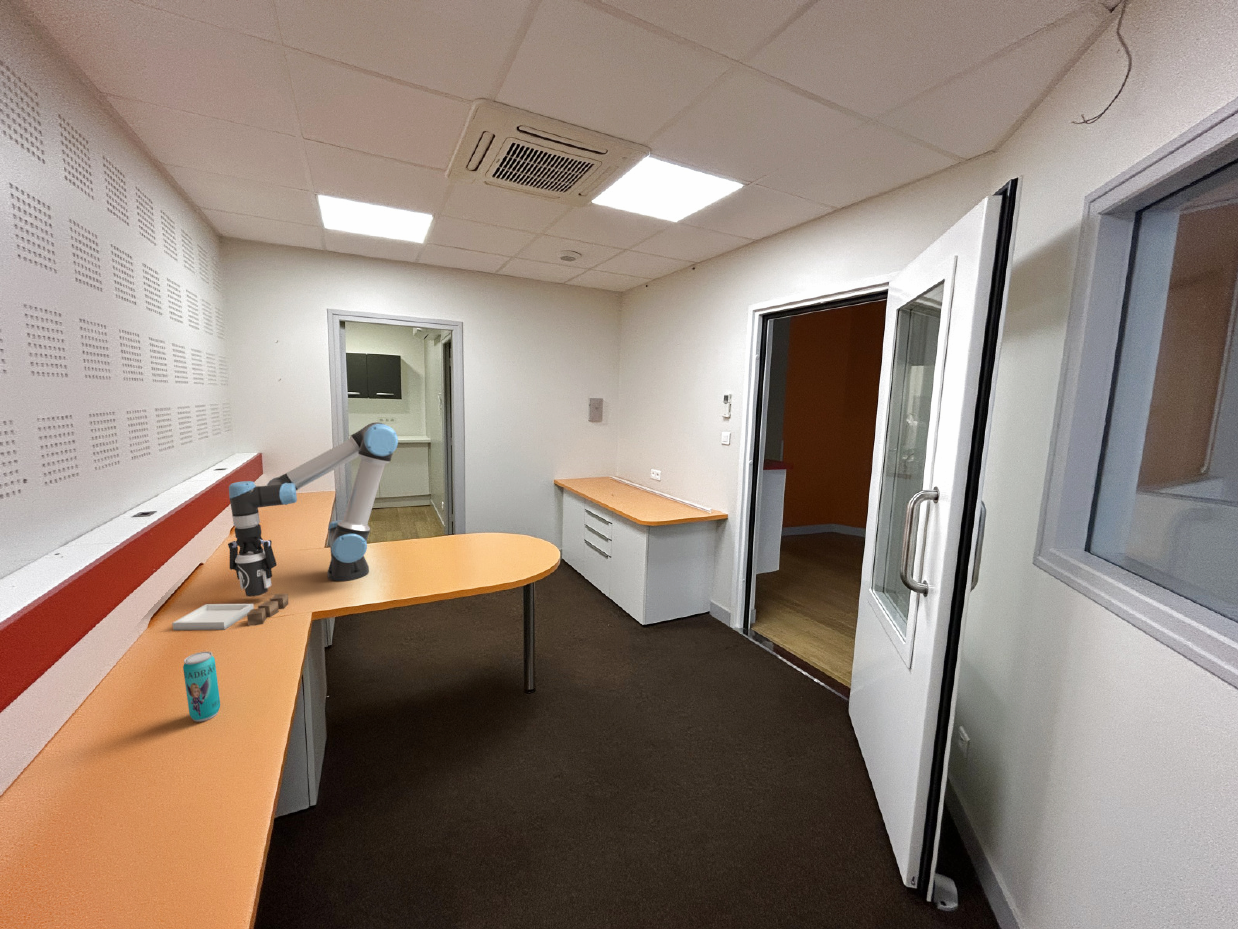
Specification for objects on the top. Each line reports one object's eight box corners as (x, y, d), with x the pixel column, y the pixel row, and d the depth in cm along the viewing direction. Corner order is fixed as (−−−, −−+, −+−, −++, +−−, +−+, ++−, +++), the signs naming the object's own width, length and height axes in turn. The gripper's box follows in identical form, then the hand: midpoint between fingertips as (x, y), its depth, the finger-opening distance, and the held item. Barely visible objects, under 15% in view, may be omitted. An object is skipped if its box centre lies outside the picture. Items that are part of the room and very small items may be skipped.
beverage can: (186, 726, 118) (178, 665, 116) (195, 712, 124) (187, 653, 121) (217, 720, 121) (209, 660, 118) (224, 706, 126) (217, 648, 123)
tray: (253, 610, 179) (253, 603, 178) (224, 629, 165) (223, 622, 164) (206, 611, 178) (205, 604, 178) (173, 630, 164) (172, 622, 164)
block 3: (288, 604, 184) (287, 593, 183) (283, 609, 180) (282, 598, 180) (276, 605, 183) (275, 594, 183) (271, 610, 179) (269, 599, 179)
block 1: (266, 619, 172) (264, 607, 172) (262, 624, 169) (261, 612, 168) (251, 621, 171) (250, 609, 170) (248, 626, 167) (247, 614, 167)
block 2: (278, 612, 178) (277, 601, 177) (270, 617, 174) (269, 606, 173) (267, 611, 178) (266, 601, 177) (259, 617, 174) (257, 605, 173)
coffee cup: (256, 599, 180) (250, 558, 177) (233, 597, 182) (227, 557, 179) (279, 588, 189) (273, 549, 186) (257, 586, 191) (251, 547, 188)
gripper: (283, 521, 185) (291, 582, 189) (225, 523, 184) (234, 583, 188) (270, 527, 178) (278, 590, 181) (209, 529, 177) (219, 592, 181)
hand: (256, 587), depth 185 cm, fingers closed on coffee cup, 8 cm apart
